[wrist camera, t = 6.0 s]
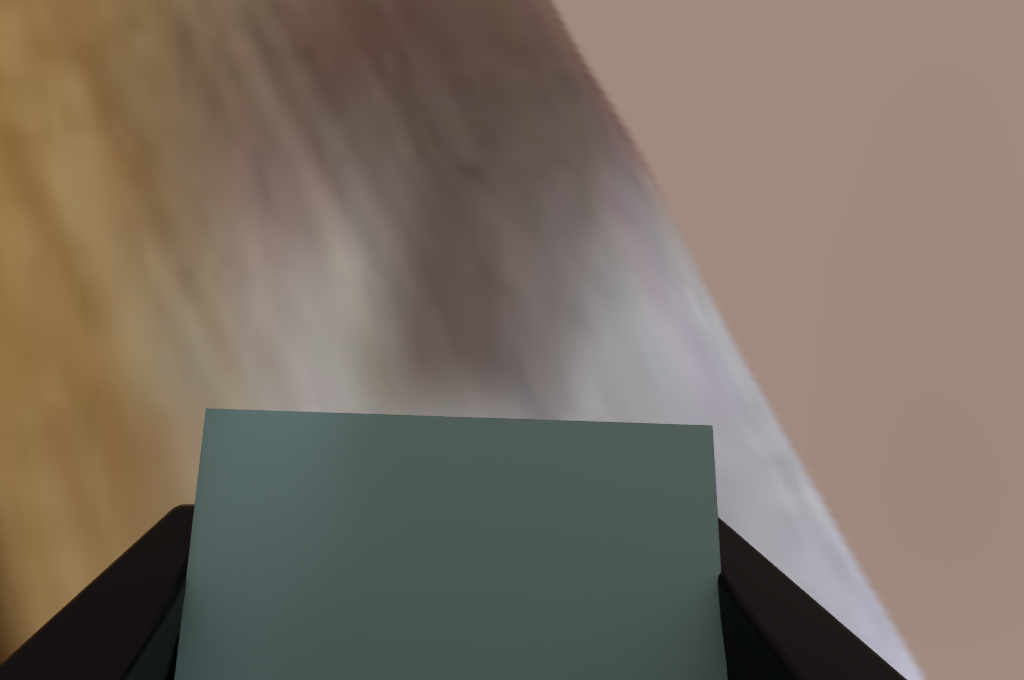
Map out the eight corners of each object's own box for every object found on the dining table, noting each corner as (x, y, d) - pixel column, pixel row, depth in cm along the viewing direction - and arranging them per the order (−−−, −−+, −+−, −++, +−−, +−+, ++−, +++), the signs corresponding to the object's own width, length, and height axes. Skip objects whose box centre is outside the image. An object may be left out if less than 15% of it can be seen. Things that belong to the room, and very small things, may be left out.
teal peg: (551, 745, 14) (746, 1001, 6) (279, 755, 13) (129, 1058, 6) (550, 479, 15) (712, 425, 8) (302, 473, 15) (205, 408, 7)
